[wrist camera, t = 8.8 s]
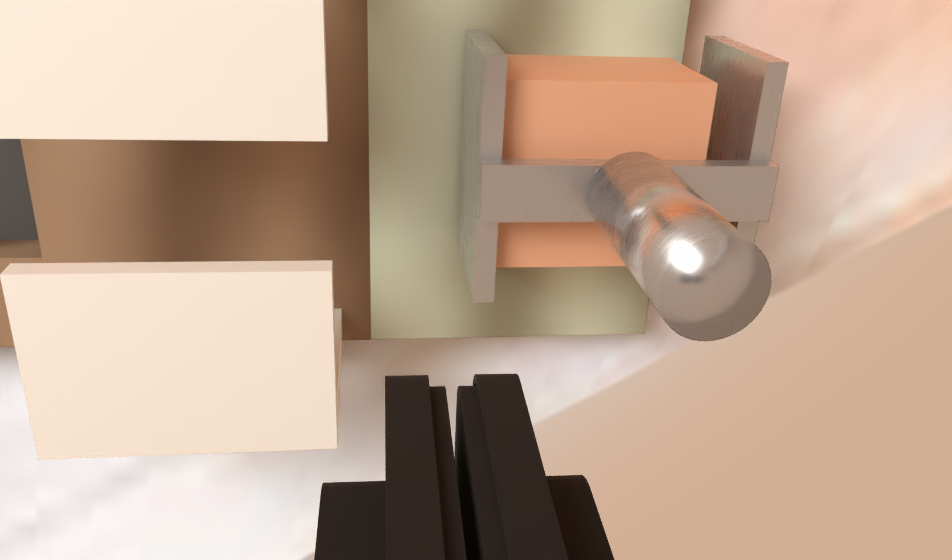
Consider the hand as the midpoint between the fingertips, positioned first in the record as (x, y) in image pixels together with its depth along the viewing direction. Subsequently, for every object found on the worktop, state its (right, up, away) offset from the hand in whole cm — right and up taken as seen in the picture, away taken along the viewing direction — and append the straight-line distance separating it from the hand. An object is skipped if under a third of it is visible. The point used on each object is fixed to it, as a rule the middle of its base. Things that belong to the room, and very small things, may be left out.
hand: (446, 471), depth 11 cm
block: (+3, +7, +17) cm, 19 cm away
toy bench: (-8, +7, +15) cm, 19 cm away
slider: (+4, +7, +17) cm, 19 cm away
